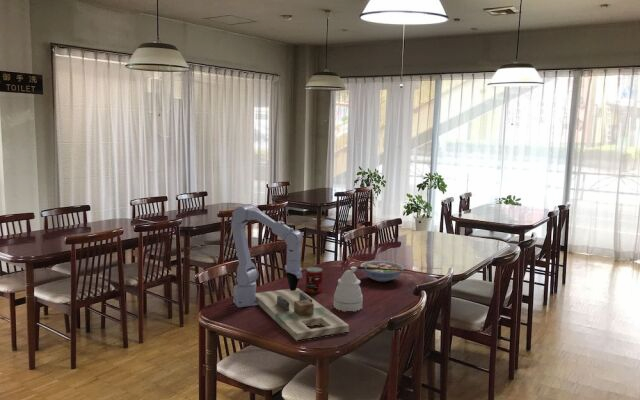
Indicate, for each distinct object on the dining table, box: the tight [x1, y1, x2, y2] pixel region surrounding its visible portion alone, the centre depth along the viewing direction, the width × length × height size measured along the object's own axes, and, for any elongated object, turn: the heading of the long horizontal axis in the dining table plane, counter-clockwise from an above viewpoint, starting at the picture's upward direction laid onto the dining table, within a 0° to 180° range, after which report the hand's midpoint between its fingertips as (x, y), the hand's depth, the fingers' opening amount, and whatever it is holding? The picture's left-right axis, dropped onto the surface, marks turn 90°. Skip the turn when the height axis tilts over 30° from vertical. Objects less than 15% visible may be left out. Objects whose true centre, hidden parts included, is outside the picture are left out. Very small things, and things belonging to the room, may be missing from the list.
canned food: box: [305, 266, 323, 294], centre depth 249 cm, size 8×8×11 cm
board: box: [256, 287, 350, 342], centre depth 218 cm, size 22×50×6 cm, turn 26°
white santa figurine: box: [333, 266, 364, 312], centre depth 229 cm, size 13×13×18 cm
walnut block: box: [294, 299, 314, 317], centre depth 212 cm, size 6×6×4 cm
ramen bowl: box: [357, 260, 408, 283], centre depth 271 cm, size 25×23×8 cm
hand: (292, 290), depth 221 cm, fingers closed
